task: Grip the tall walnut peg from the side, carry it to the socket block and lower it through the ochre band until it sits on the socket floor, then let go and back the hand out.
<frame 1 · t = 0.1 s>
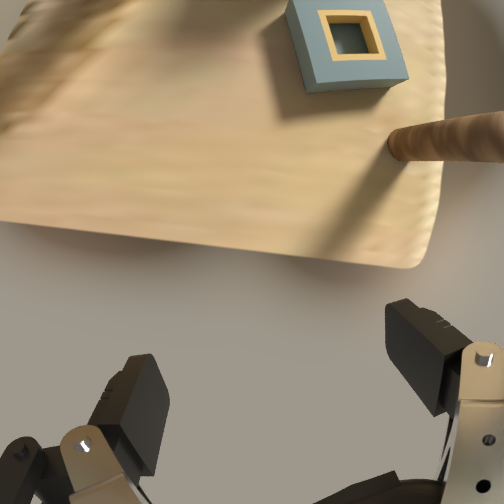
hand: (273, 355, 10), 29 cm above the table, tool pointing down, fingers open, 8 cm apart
peg: (402, 144, 37), on the table
socket block: (339, 47, 34), on the table
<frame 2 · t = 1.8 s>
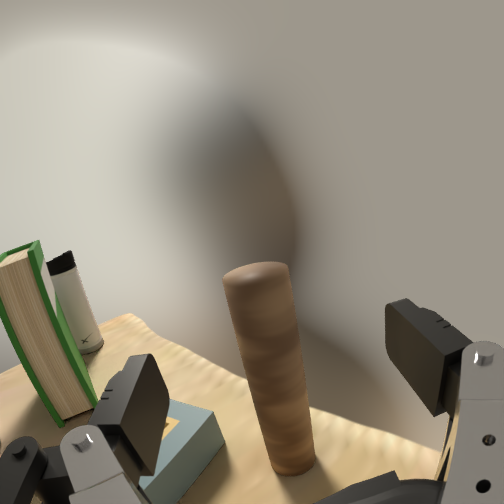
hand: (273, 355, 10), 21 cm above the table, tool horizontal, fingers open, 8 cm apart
peg: (293, 459, 26), on the table
socket block: (153, 460, 28), on the table
hardback book: (73, 391, 43), on the table
travel mug: (91, 347, 57), on the table
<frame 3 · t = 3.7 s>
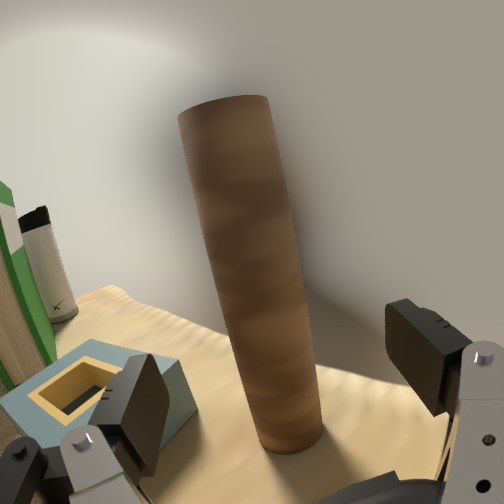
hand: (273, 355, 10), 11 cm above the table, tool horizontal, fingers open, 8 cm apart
peg: (290, 430, 19), on the table
socket block: (103, 431, 21), on the table
hardback book: (35, 359, 35), on the table
travel mug: (65, 317, 50), on the table
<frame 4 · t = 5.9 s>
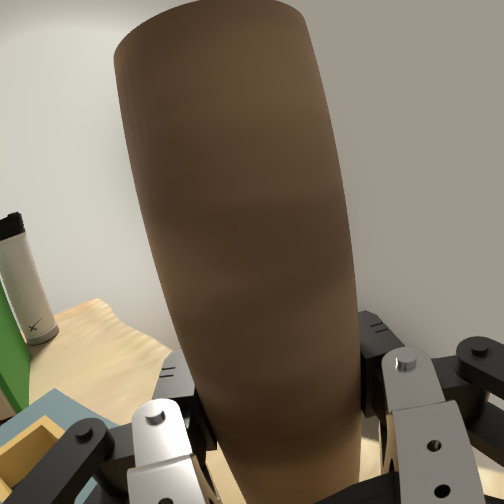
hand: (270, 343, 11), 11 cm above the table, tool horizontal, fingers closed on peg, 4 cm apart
hardback book: (7, 391, 27), on the table
travel mug: (44, 337, 42), on the table
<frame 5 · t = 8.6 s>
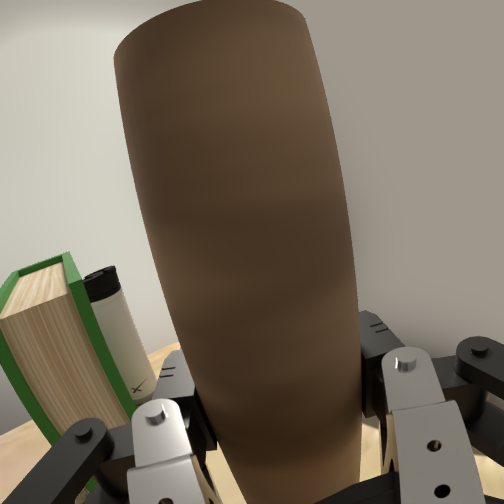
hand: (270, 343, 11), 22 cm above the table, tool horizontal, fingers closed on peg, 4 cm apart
hardback book: (136, 469, 28), on the table
travel mug: (142, 394, 43), on the table
when the fingers open (12 cm above the table, at t = 11.4 s): peg stays where it is, resting on socket block.
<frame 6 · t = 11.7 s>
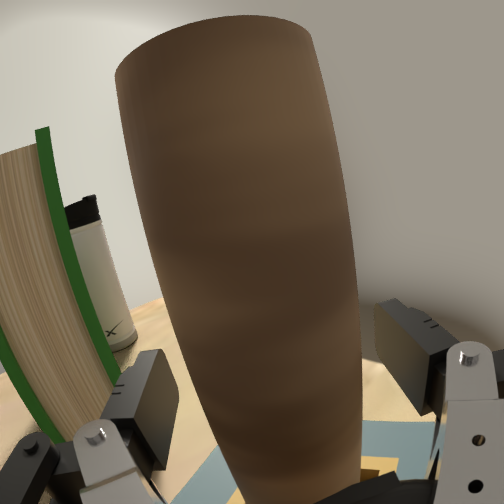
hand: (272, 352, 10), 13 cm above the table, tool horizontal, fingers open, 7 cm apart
hardback book: (99, 413, 26), on the table
travel mug: (119, 342, 41), on the table
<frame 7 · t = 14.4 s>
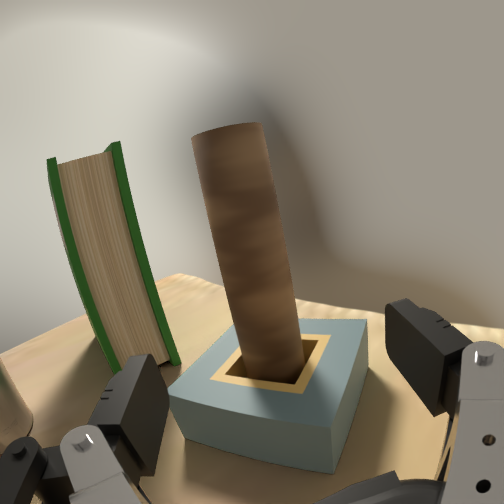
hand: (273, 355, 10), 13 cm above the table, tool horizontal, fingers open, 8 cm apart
peg: (282, 397, 24), point 1 cm above the table, touching socket block
socket block: (283, 405, 24), on the table
hardback book: (131, 349, 38), on the table
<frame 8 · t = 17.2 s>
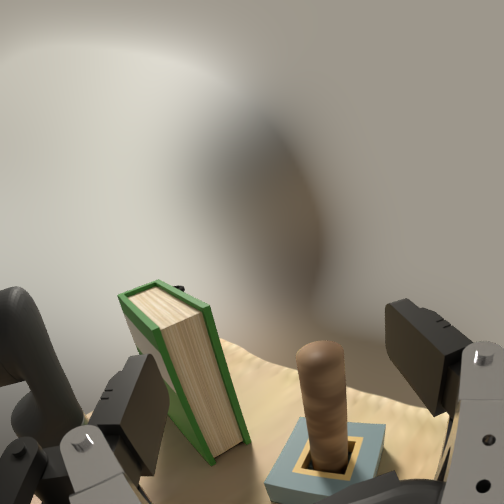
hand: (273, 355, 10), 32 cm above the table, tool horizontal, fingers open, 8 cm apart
peg: (330, 472, 33), point 1 cm above the table, touching socket block
socket block: (330, 475, 33), on the table
hardback book: (203, 426, 48), on the table
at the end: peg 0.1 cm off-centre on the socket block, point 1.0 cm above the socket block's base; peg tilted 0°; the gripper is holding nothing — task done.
